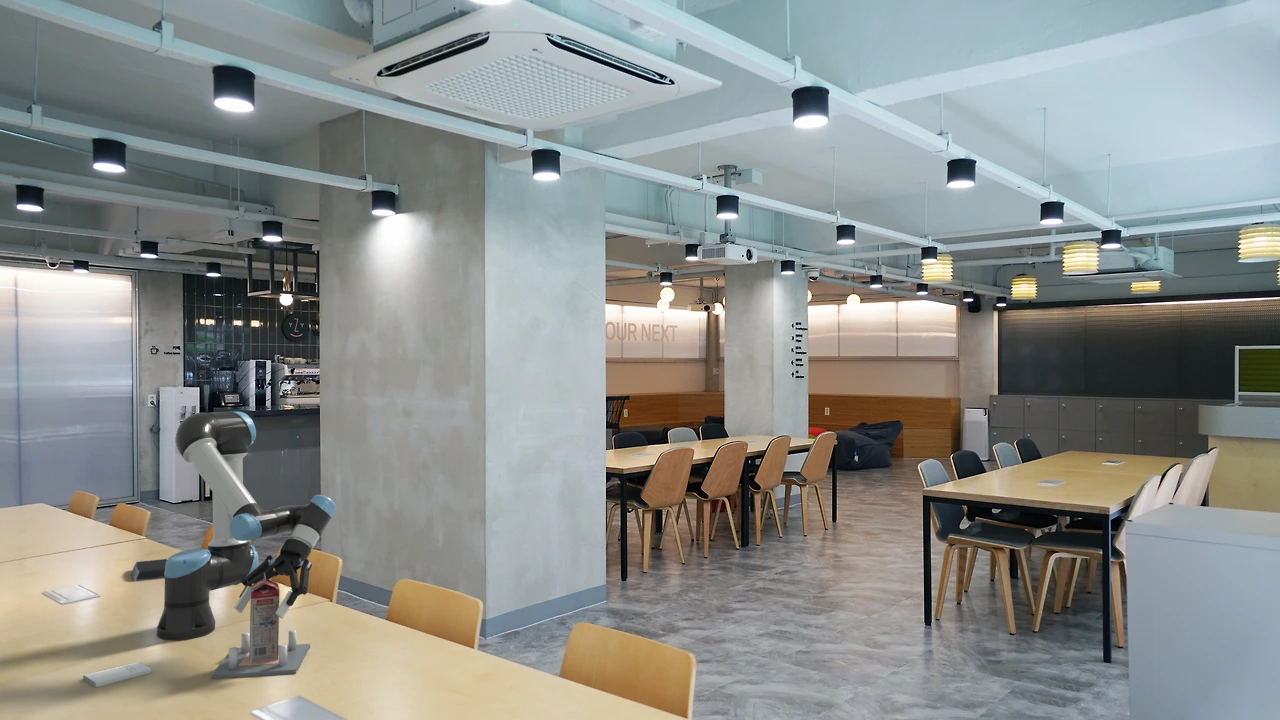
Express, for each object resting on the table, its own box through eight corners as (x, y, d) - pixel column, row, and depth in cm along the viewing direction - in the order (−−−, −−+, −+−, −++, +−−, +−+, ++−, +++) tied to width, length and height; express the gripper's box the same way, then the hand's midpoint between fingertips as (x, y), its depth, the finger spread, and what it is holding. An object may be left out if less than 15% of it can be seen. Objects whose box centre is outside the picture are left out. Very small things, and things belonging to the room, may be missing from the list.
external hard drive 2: (83, 681, 201) (137, 667, 211) (95, 689, 197) (151, 674, 206) (83, 674, 202) (137, 660, 211) (95, 682, 197) (151, 668, 206)
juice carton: (250, 663, 210) (252, 579, 211) (249, 655, 216) (251, 573, 217) (277, 659, 214) (279, 576, 214) (276, 651, 219) (278, 571, 220)
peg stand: (211, 678, 203) (211, 654, 203) (233, 651, 222) (233, 629, 223) (295, 673, 207) (296, 650, 207) (310, 647, 227) (310, 625, 227)
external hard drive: (132, 583, 292) (132, 571, 292) (131, 571, 308) (131, 560, 308) (173, 578, 299) (173, 567, 299) (170, 567, 315) (170, 556, 316)
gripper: (342, 556, 226) (303, 625, 212) (270, 548, 234) (228, 615, 219) (330, 540, 221) (289, 610, 207) (256, 533, 229) (213, 600, 214)
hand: (258, 613), depth 213 cm, fingers open, 13 cm apart
